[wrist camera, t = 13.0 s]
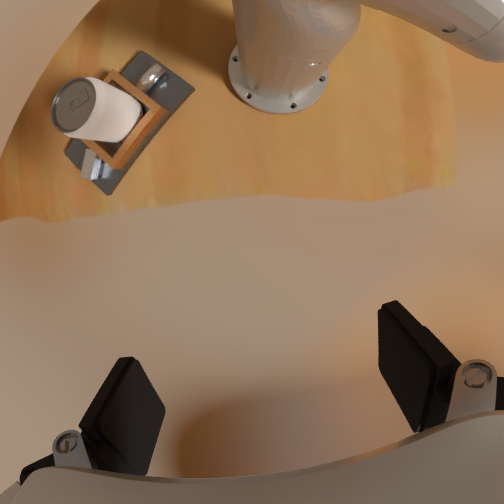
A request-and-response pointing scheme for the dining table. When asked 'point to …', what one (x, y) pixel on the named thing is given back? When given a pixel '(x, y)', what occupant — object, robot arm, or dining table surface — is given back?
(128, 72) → the base
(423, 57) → the dining table surface
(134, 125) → the can
